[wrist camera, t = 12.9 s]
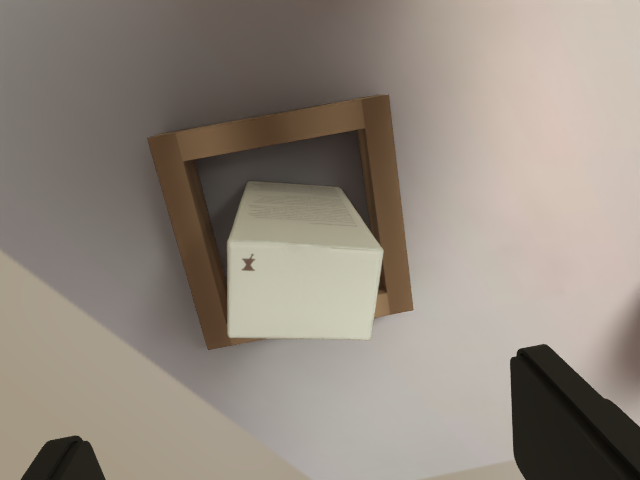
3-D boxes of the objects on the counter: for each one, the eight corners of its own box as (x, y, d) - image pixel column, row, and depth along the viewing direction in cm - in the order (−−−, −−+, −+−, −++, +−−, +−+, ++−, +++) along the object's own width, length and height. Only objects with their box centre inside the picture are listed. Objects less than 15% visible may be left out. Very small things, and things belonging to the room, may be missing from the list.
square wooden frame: (377, 95, 27) (388, 94, 24) (401, 290, 31) (413, 310, 28) (161, 133, 26) (147, 138, 24) (214, 326, 31) (207, 350, 28)
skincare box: (244, 244, 29) (221, 340, 18) (246, 179, 28) (223, 236, 16) (337, 249, 30) (373, 344, 18) (343, 185, 28) (386, 245, 17)
